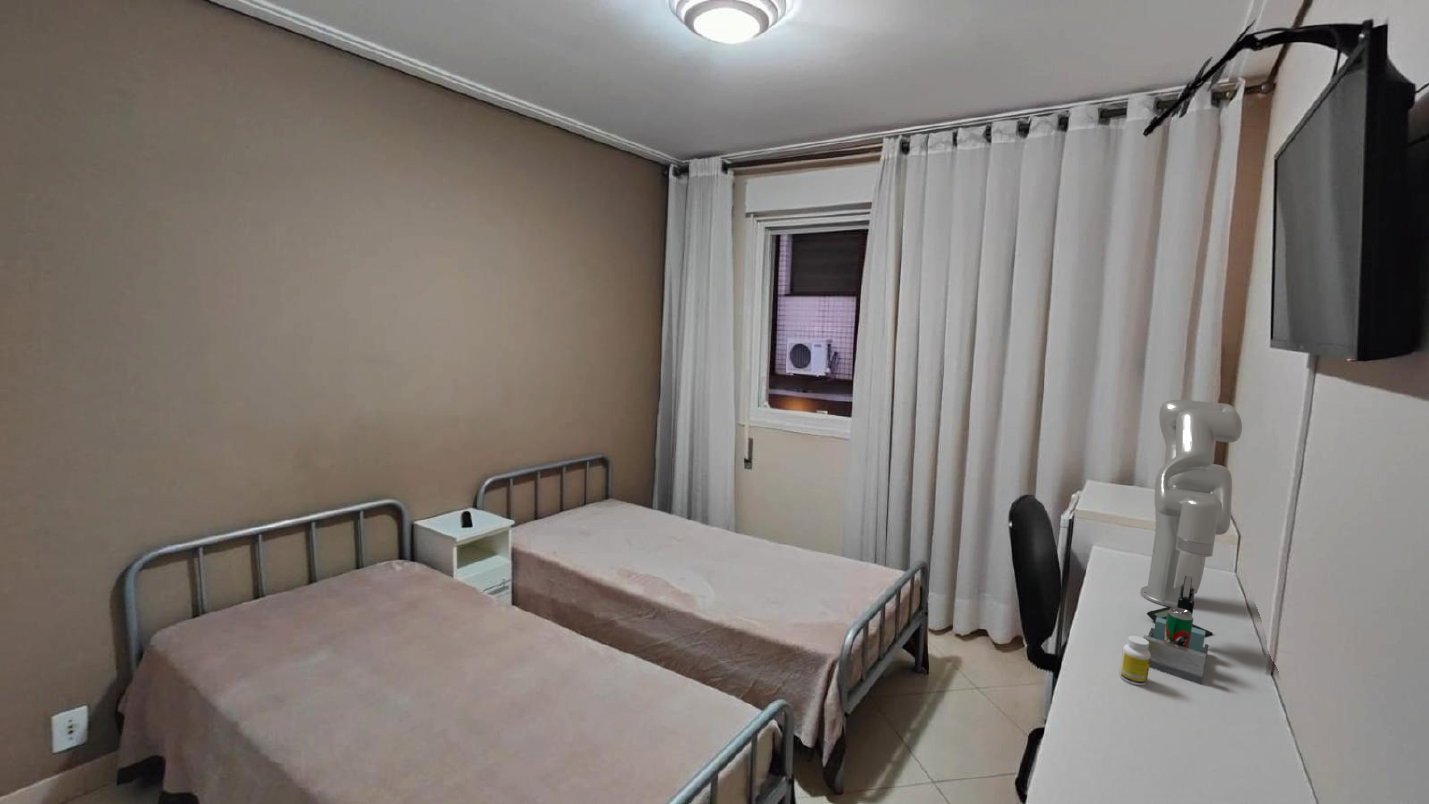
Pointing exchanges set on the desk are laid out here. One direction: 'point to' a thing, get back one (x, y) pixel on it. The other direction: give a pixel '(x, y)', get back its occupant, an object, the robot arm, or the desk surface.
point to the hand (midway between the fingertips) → (1184, 614)
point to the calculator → (1163, 614)
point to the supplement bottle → (1135, 661)
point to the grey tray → (1176, 659)
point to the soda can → (1178, 627)
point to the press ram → (1195, 638)
